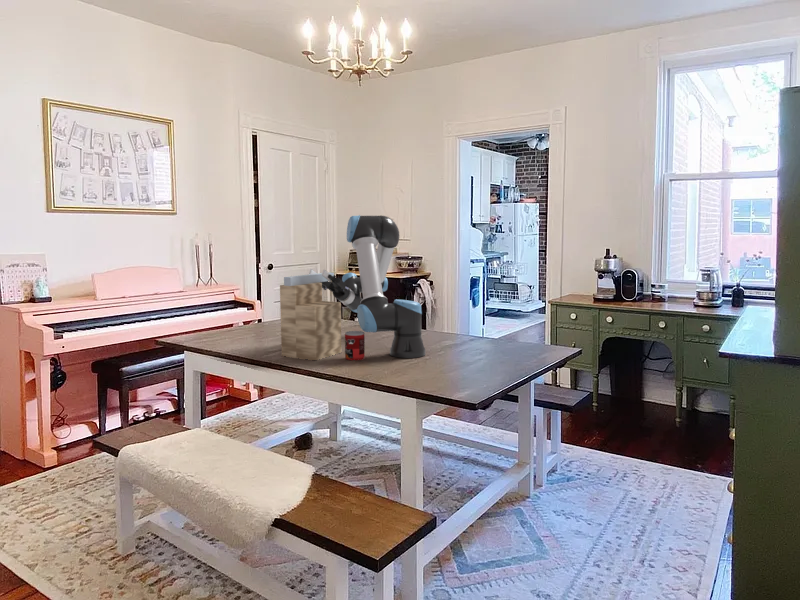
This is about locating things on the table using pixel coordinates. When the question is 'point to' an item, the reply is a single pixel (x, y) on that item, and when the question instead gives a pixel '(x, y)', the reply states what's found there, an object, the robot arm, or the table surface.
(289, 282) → the rail
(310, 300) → the stand
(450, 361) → the table surface
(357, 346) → the canned food
